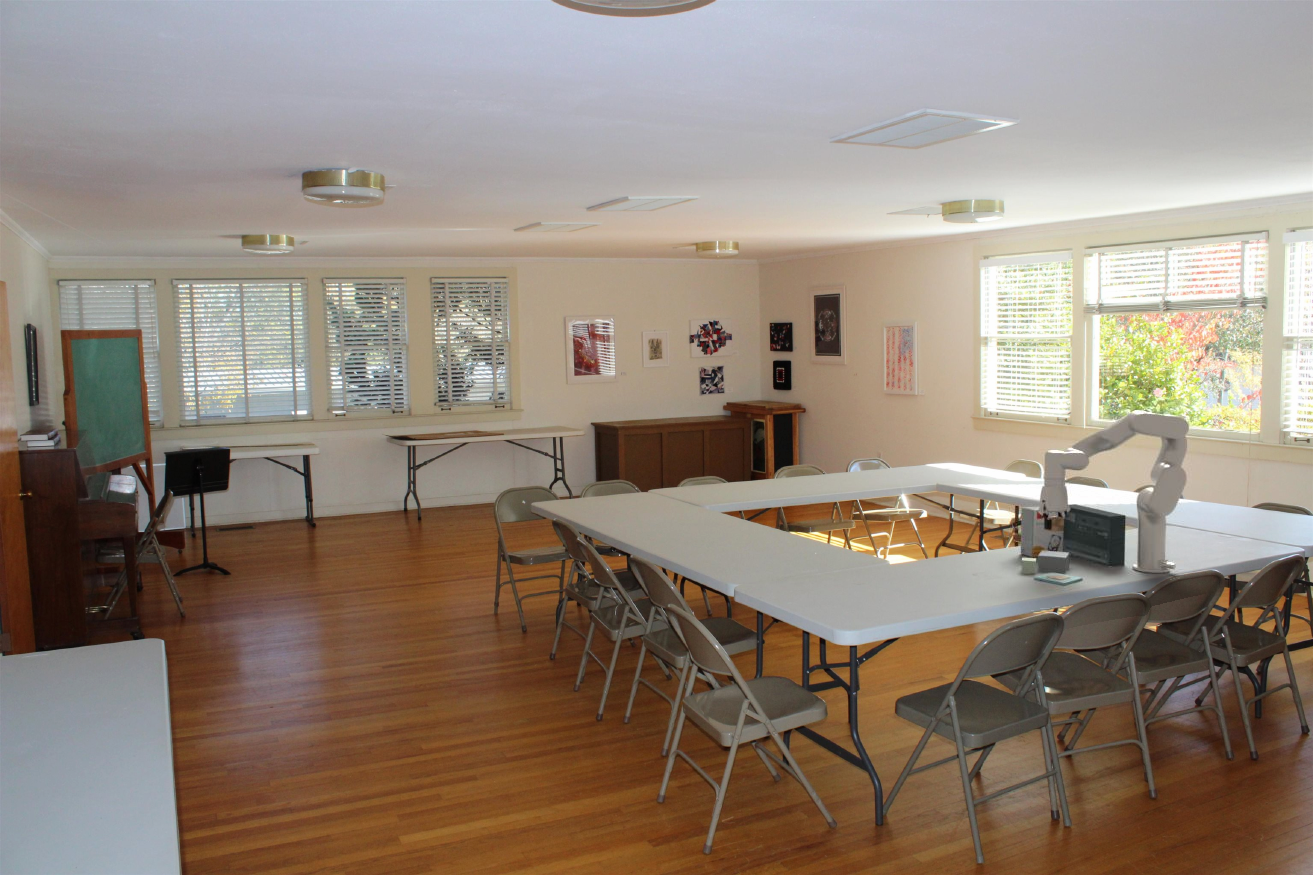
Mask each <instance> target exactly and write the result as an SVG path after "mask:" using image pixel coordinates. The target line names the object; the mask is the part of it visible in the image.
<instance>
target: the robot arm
mask: <svg viewBox="0 0 1313 875" xmlns="http://www.w3.org/2000/svg"><path fill="white" fill-rule="evenodd" d="M1189 430H1190V424H1189V423H1188V421H1187V420H1186V419H1185V418H1183V417H1182V416H1178V415H1173V414H1160V413H1153V412H1148V411H1145V410H1144V411H1142V410H1133V411H1130V412H1128V413H1127V414H1125V415H1123V416H1122V417H1120V418H1119V419H1117V420H1116V421H1114V422H1112V423H1111V424H1109V425H1108V426H1106V427H1104V428H1103V429H1100V430H1099V431H1097V432H1095V433H1093V434H1091V435H1089V436H1086V437H1084V438H1083V439H1081V440H1079V441H1077V442H1076V443H1074V444H1073V445H1072V446H1070V447H1068V448H1067V449H1065V451H1063V450H1052V449H1051V450H1047V451H1046V452H1045V453H1044V474H1043V476H1044V477H1043V478H1044V481H1043V485H1042V487H1041V489H1040V490H1041V491H1040V495H1039V506H1040V508H1039V509H1038V512H1039V513H1040V514H1041V515H1042V517H1043V519H1044V528H1045V529H1048V530H1051V520H1050V518H1051V514H1052V512H1057V516H1058V517H1062V518H1065V516H1066V514H1067V512H1069V511H1070V507H1069V505H1070V504H1069V501H1068V500H1069V498H1068V497H1069V496H1068V489H1067V488H1068V487H1067V485H1066V483H1067V481H1068V480H1067V478H1066V470H1069V471H1070V470H1072V471H1082V470H1085V469H1086V468H1087V467H1088V466H1089V463H1090V458H1091V457H1093V456H1095V455H1097V454H1099V453H1100V454H1101V453H1103V452H1107V451H1112V450H1115V449H1117V448H1119V447H1120V446H1122V445H1124V443H1127V442H1128V441H1130V440H1131V439H1133V438H1134V437H1136V436H1138V435H1145V436H1150V437H1156V438H1160V439H1161V446H1160V449H1159V453H1158V456H1157V457H1156V460H1155V462H1154V464H1153V466H1152V469H1151V471H1150V479H1151V481H1152V482H1153V484H1155V486H1154V487H1146V488H1144V489H1142V490H1140V492H1139V493H1138V494H1137V497H1136V509H1137V547H1136V548H1137V550H1136V552H1137V554H1136V563H1134V564H1133V565H1132V569H1134V570H1135V571H1139V572H1142V573H1149V574H1164V573H1168V572H1170V569H1171V570H1175V569H1176V566H1177V565H1176V564H1175V563H1173V562H1169V559H1168V558H1166V546H1167V545H1166V543H1167V542H1166V539H1167V538H1166V537H1167V516H1169V515H1170V514H1172V513H1173V511H1174V510H1175V509H1176V507H1177V505H1178V503H1179V501H1180V498H1181V497H1182V493H1183V491H1184V489H1185V486H1186V484H1187V481H1188V480H1187V476H1188V475H1187V473H1186V471H1185V469H1184V468H1183V467H1182V465H1183V462H1184V459H1185V457H1186V455H1187V450H1188V439H1187V437H1186V436H1187V434H1188V433H1189ZM1060 512H1061V513H1060ZM1047 513H1048V515H1047Z"/></svg>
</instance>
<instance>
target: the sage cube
mask: <svg viewBox="0 0 1313 875" xmlns="http://www.w3.org/2000/svg"><path fill="white" fill-rule="evenodd" d="M1030 573H1034V575H1036V574H1037V557H1022V558H1021V574H1030Z"/></svg>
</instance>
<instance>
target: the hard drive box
mask: <svg viewBox="0 0 1313 875" xmlns="http://www.w3.org/2000/svg"><path fill="white" fill-rule="evenodd" d="M1039 508H1040V505H1039V506H1022V507H1021V512H1020V514H1021V521H1020V522H1021V523H1020V524H1021V526H1020V527H1021V528H1020V554H1021V555H1024V556H1027V557H1029V558H1038V555H1039V554H1040V552H1041V551H1042V550H1044V551H1056V552H1063V531H1055V532H1052V531H1048V530H1044V519H1043V517H1042V515H1041V514H1040V513H1039V512H1038V509H1039ZM1060 513H1061V512H1060ZM1047 515H1048V513H1047ZM1051 516H1057V512H1052V514H1051ZM1057 517H1058V516H1057Z"/></svg>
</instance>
